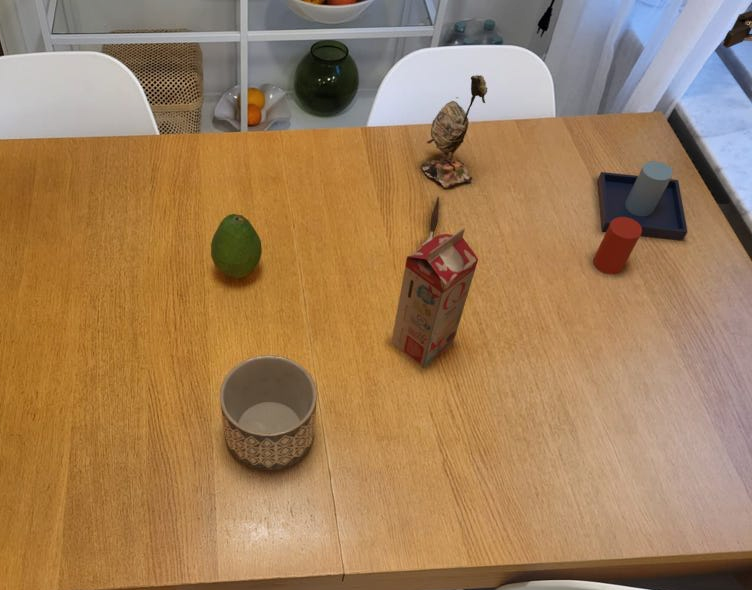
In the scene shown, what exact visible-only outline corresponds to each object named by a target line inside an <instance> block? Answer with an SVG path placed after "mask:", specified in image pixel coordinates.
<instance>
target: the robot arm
mask: <svg viewBox="0 0 752 590" xmlns="http://www.w3.org/2000/svg"><path fill="white" fill-rule="evenodd" d="M751 31H752V10H749V11H746V12H742V13H740V14H738V16H737V18H736V20H735V21H734V24H733V26H732V28H731V29H730V30H728V31H727V33H726V35H725V37H724V39H723V44H722V46H723V47H724V48H726V49H728V48H730V47H733V46H736V45H739V44H741V43H743V42H752V33H750V32H751Z"/></svg>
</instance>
